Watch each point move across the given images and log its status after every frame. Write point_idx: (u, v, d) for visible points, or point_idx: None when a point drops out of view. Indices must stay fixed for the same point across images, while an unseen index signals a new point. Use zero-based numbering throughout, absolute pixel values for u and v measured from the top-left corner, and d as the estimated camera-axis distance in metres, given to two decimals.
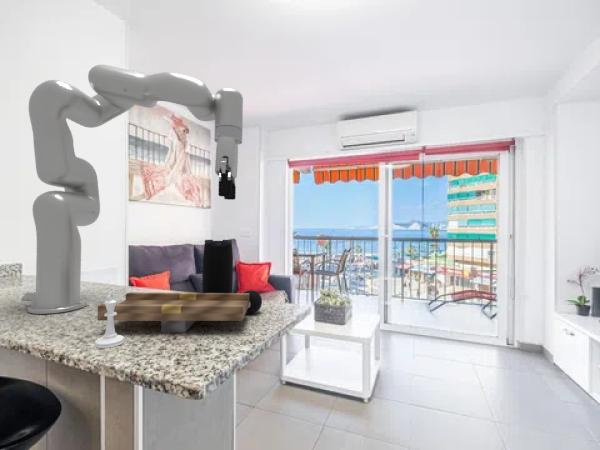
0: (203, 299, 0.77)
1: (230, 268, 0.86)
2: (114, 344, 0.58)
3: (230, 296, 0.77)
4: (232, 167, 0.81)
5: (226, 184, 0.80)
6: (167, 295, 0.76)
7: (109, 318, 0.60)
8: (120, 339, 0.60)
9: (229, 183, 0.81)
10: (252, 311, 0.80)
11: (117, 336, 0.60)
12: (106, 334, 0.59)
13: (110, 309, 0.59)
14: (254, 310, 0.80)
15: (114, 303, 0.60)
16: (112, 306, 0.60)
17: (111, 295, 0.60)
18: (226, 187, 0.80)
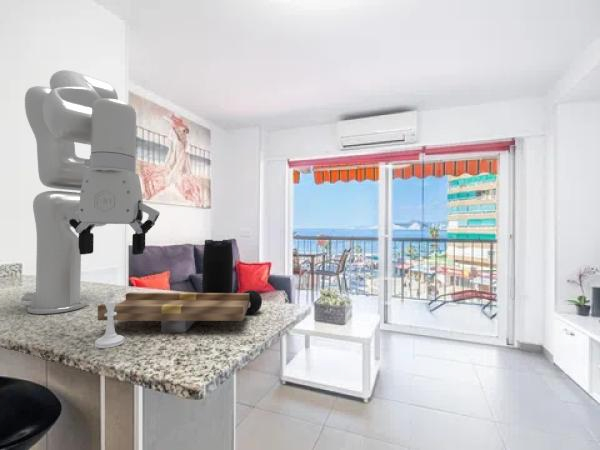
0: (203, 299, 0.77)
1: (230, 268, 0.86)
2: (114, 344, 0.58)
3: (230, 296, 0.77)
4: None
5: (144, 238, 0.61)
6: (167, 295, 0.76)
7: (109, 318, 0.60)
8: (120, 339, 0.60)
9: None
10: (252, 311, 0.80)
11: (117, 336, 0.60)
12: (106, 334, 0.59)
13: (110, 309, 0.59)
14: (254, 310, 0.80)
15: (114, 303, 0.60)
16: (112, 306, 0.60)
17: (111, 295, 0.60)
18: (144, 242, 0.61)
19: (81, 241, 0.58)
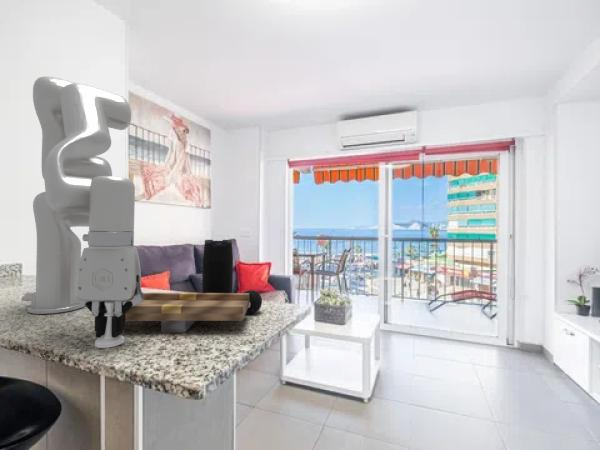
0: (203, 299, 0.77)
1: (230, 268, 0.86)
2: (114, 344, 0.58)
3: (230, 296, 0.77)
4: None
5: (124, 319, 0.61)
6: (167, 295, 0.76)
7: (109, 318, 0.60)
8: (120, 339, 0.60)
9: None
10: (252, 311, 0.80)
11: (117, 336, 0.60)
12: (106, 334, 0.59)
13: (110, 309, 0.59)
14: (254, 310, 0.80)
15: (114, 303, 0.60)
16: (112, 306, 0.60)
17: None
18: (124, 322, 0.61)
19: (97, 325, 0.58)
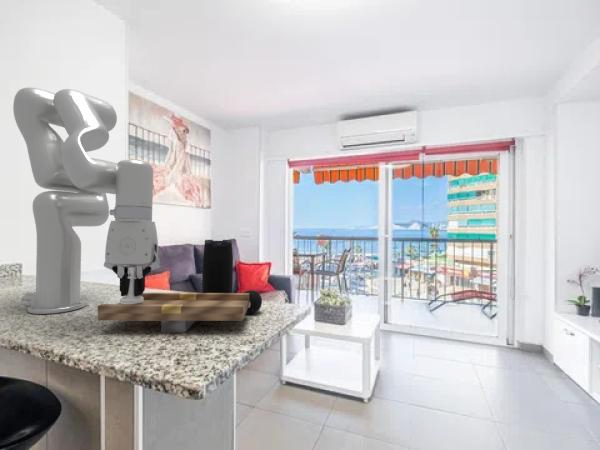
0: (203, 299, 0.77)
1: (230, 268, 0.86)
2: (136, 301, 0.69)
3: (230, 296, 0.77)
4: None
5: (144, 281, 0.72)
6: (167, 295, 0.76)
7: (131, 280, 0.71)
8: (140, 298, 0.71)
9: None
10: (252, 311, 0.80)
11: (138, 296, 0.71)
12: (129, 293, 0.70)
13: (132, 273, 0.70)
14: (254, 310, 0.80)
15: (136, 267, 0.71)
16: (134, 270, 0.71)
17: None
18: (144, 285, 0.72)
19: (122, 285, 0.69)
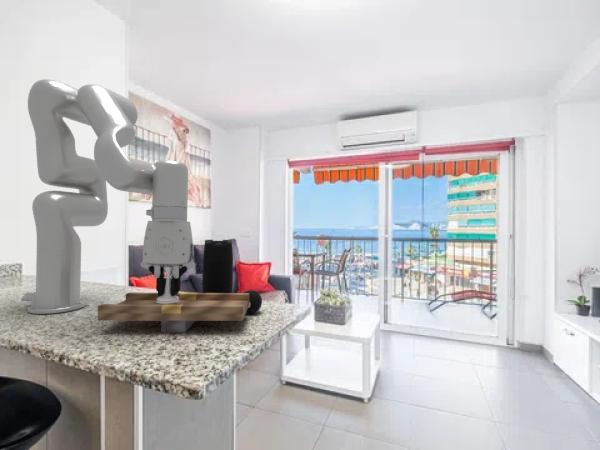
0: (203, 299, 0.77)
1: (230, 268, 0.86)
2: (173, 301, 0.70)
3: (230, 296, 0.77)
4: None
5: (180, 281, 0.72)
6: None
7: (168, 280, 0.71)
8: (177, 298, 0.71)
9: None
10: (252, 311, 0.80)
11: None
12: (165, 293, 0.71)
13: (168, 272, 0.71)
14: (254, 310, 0.80)
15: (172, 267, 0.71)
16: (170, 270, 0.71)
17: None
18: (180, 284, 0.72)
19: (159, 285, 0.70)
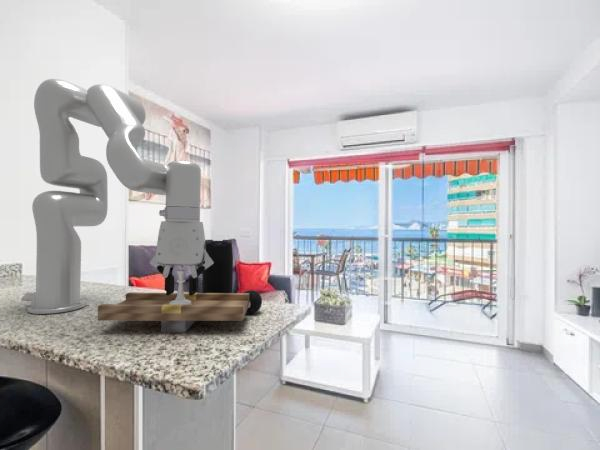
0: (203, 299, 0.77)
1: (230, 268, 0.86)
2: None
3: (230, 296, 0.77)
4: None
5: (197, 281, 0.72)
6: (167, 295, 0.76)
7: (180, 284, 0.71)
8: (189, 302, 0.71)
9: None
10: (252, 311, 0.80)
11: (186, 300, 0.72)
12: (178, 297, 0.71)
13: (181, 277, 0.71)
14: (254, 310, 0.80)
15: (184, 271, 0.71)
16: (183, 274, 0.71)
17: (181, 265, 0.72)
18: (197, 284, 0.72)
19: (167, 284, 0.70)
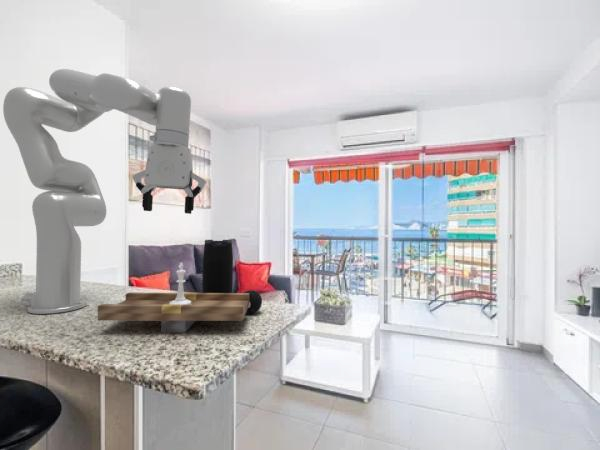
0: (203, 299, 0.77)
1: (230, 268, 0.86)
2: None
3: (230, 296, 0.77)
4: None
5: (193, 201, 0.76)
6: (167, 295, 0.76)
7: (180, 284, 0.71)
8: (189, 302, 0.71)
9: None
10: (252, 311, 0.80)
11: (186, 300, 0.72)
12: (178, 297, 0.71)
13: (181, 277, 0.71)
14: (254, 310, 0.80)
15: (184, 272, 0.71)
16: (182, 274, 0.71)
17: (181, 265, 0.72)
18: (193, 204, 0.76)
19: (145, 200, 0.73)
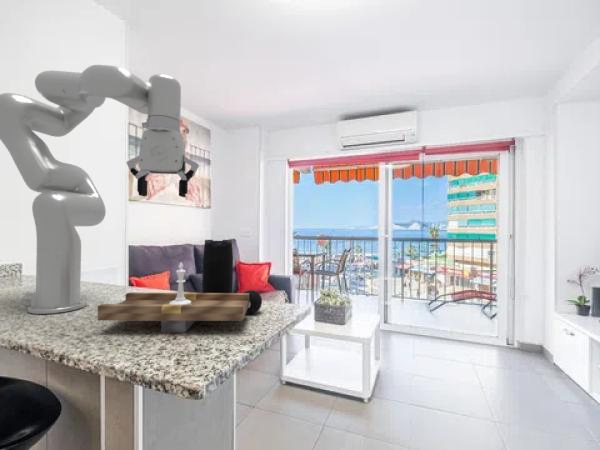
0: (203, 299, 0.77)
1: (230, 268, 0.86)
2: None
3: (230, 296, 0.77)
4: None
5: (187, 185, 0.78)
6: (167, 295, 0.76)
7: (180, 284, 0.71)
8: (189, 302, 0.71)
9: None
10: (252, 311, 0.80)
11: (186, 299, 0.72)
12: (178, 297, 0.71)
13: (181, 277, 0.71)
14: (254, 310, 0.80)
15: (184, 271, 0.71)
16: (182, 274, 0.71)
17: (181, 265, 0.72)
18: (187, 188, 0.78)
19: (140, 185, 0.75)
